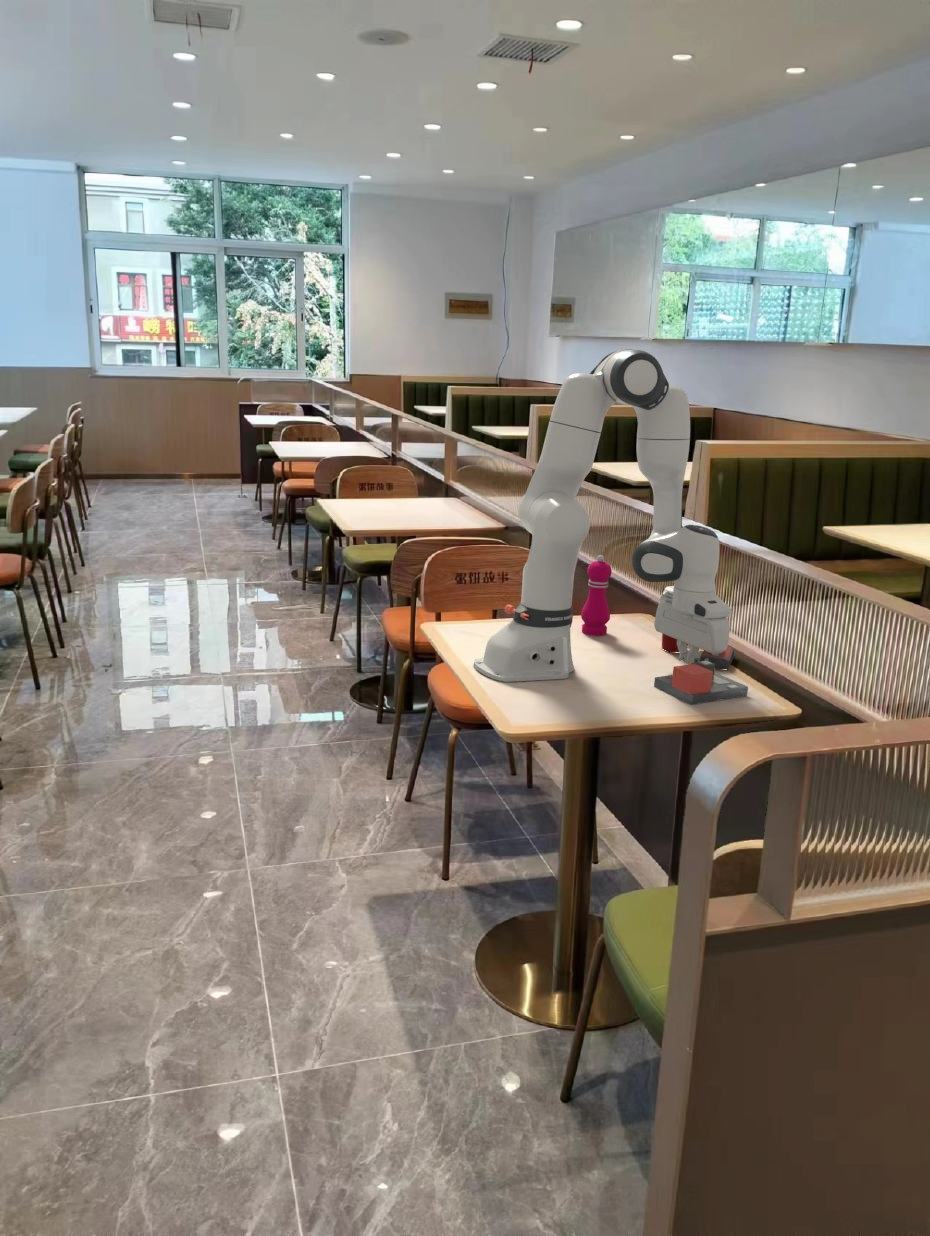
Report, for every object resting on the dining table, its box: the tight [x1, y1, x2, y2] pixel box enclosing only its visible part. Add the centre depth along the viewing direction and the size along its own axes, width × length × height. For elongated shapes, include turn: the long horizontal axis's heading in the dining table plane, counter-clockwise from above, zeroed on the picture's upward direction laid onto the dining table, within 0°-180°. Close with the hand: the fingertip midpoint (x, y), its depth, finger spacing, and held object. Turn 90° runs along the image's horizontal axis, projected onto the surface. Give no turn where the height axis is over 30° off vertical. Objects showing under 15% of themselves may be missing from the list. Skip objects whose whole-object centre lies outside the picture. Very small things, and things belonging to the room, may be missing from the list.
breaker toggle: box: [696, 661, 716, 675], centre depth 206 cm, size 3×3×3 cm
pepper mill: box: [580, 554, 612, 637], centre depth 240 cm, size 7×7×20 cm
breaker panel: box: [653, 672, 749, 705], centre depth 202 cm, size 15×12×3 cm
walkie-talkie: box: [690, 645, 735, 671], centre depth 221 cm, size 9×4×20 cm
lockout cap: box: [671, 663, 713, 694], centre depth 197 cm, size 6×6×4 cm
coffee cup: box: [661, 585, 688, 653], centre depth 230 cm, size 8×8×15 cm
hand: (686, 661), depth 212 cm, fingers closed
